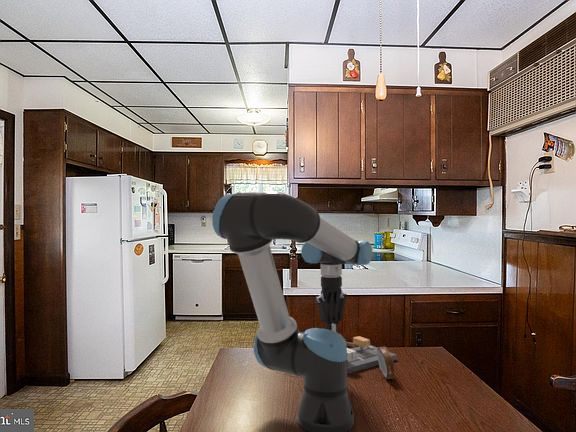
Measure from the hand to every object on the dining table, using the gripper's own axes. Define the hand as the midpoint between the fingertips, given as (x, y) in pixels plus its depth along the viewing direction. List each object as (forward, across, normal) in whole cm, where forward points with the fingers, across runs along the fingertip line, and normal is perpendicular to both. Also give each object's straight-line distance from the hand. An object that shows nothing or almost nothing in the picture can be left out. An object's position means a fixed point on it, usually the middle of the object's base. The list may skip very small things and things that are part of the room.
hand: (332, 341), depth 135 cm
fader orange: (+9, +21, +7) cm, 23 cm away
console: (+11, +14, +3) cm, 18 cm away
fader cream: (+9, +7, 0) cm, 11 cm away
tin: (+11, +15, -11) cm, 22 cm away
